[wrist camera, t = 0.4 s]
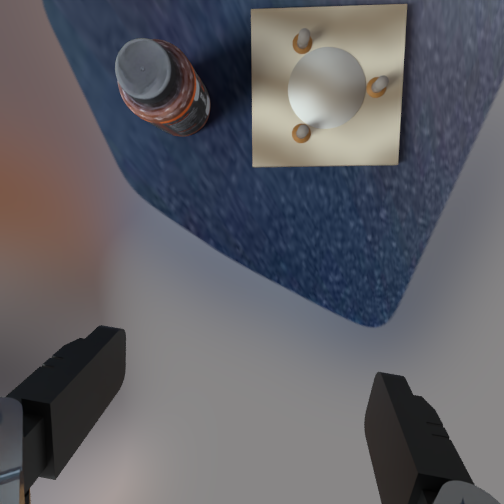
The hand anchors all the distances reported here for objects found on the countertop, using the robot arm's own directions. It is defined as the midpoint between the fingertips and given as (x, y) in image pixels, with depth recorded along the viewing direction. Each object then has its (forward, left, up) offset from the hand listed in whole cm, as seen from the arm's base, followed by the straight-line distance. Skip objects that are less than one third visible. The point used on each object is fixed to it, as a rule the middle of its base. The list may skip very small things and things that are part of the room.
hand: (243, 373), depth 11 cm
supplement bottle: (-14, -8, -27) cm, 31 cm away
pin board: (-15, +6, -27) cm, 31 cm away
